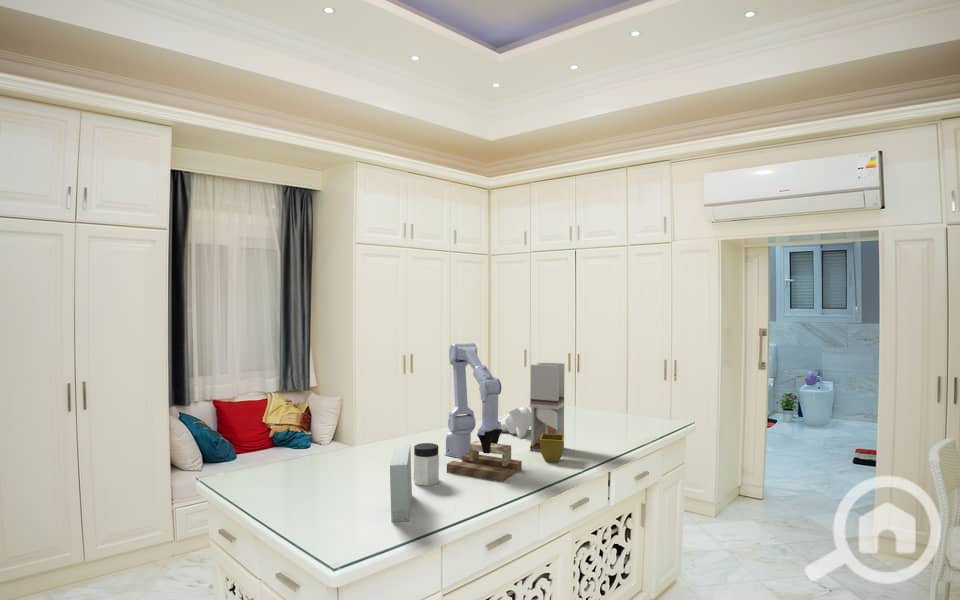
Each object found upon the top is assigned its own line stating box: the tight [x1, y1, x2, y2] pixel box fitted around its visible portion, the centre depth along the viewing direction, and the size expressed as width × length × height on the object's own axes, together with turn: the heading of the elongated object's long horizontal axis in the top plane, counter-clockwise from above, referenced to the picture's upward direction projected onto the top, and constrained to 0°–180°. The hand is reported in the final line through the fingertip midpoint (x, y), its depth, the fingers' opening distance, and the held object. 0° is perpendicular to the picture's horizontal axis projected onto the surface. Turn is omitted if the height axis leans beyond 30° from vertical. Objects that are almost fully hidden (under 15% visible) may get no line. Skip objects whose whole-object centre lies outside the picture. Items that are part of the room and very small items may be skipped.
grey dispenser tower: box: [529, 361, 566, 453], centre depth 227 cm, size 11×11×35 cm
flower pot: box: [540, 434, 565, 463], centre depth 211 cm, size 9×9×9 cm
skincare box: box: [389, 444, 413, 523], centre depth 162 cm, size 21×5×16 cm, turn 5°
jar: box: [413, 442, 440, 487], centre depth 185 cm, size 9×8×12 cm
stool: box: [470, 440, 512, 466], centre depth 197 cm, size 14×5×6 cm, turn 63°
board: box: [446, 453, 523, 483], centre depth 198 cm, size 22×16×3 cm
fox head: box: [498, 406, 531, 439], centre depth 255 cm, size 13×17×20 cm
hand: (489, 451), depth 197 cm, fingers closed on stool, 5 cm apart
